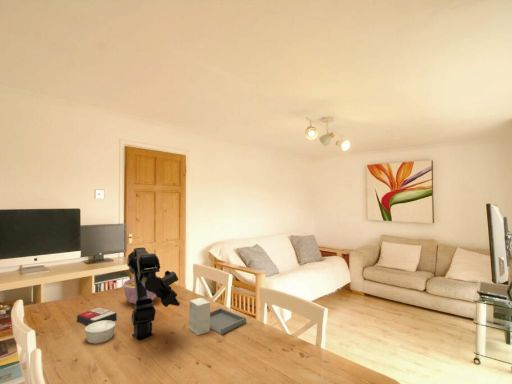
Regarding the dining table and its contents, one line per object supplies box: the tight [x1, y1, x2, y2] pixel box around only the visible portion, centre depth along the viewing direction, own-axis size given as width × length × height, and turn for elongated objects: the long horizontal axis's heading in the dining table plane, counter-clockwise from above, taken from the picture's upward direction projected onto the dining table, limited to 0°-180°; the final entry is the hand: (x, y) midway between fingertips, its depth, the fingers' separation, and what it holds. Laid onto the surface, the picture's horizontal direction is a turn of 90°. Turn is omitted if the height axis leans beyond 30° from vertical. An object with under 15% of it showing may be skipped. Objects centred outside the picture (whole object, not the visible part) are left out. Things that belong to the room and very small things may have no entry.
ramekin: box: [84, 320, 116, 345], centre depth 118 cm, size 11×11×5 cm
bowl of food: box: [122, 278, 157, 305], centre depth 158 cm, size 20×20×12 cm
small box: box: [188, 297, 211, 336], centre depth 126 cm, size 8×6×13 cm
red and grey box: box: [76, 307, 117, 327], centre depth 134 cm, size 11×4×15 cm
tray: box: [210, 307, 247, 336], centre depth 134 cm, size 15×18×2 cm
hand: (178, 303), depth 121 cm, fingers open, 2 cm apart
